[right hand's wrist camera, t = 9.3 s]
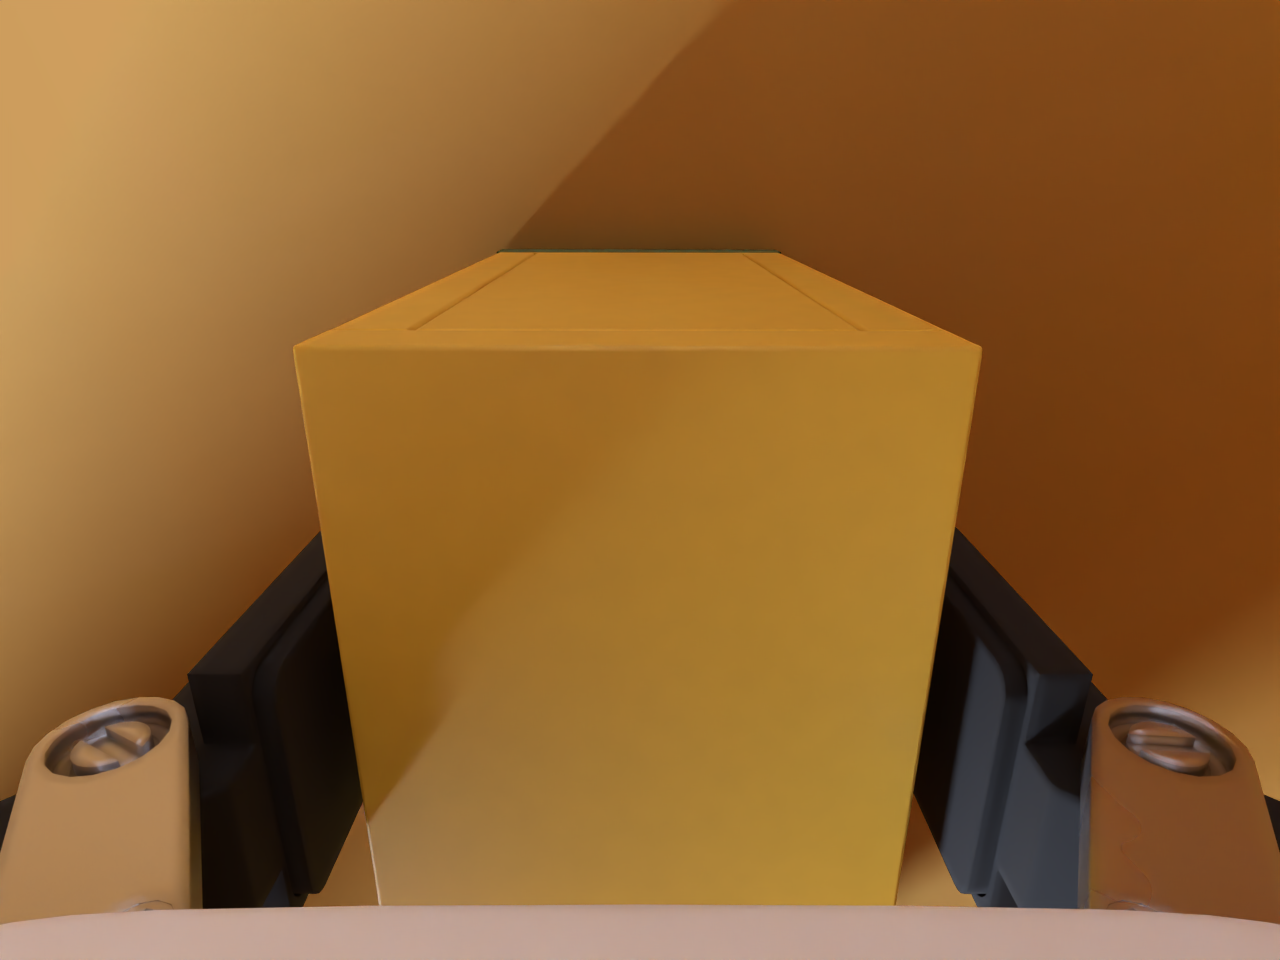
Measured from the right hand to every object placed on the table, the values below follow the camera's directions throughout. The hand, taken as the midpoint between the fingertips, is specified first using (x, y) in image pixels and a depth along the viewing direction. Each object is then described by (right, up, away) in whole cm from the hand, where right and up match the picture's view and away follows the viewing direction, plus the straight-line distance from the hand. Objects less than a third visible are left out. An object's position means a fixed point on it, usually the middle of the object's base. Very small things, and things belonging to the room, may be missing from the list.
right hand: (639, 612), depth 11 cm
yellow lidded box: (0, 0, +9) cm, 9 cm away
